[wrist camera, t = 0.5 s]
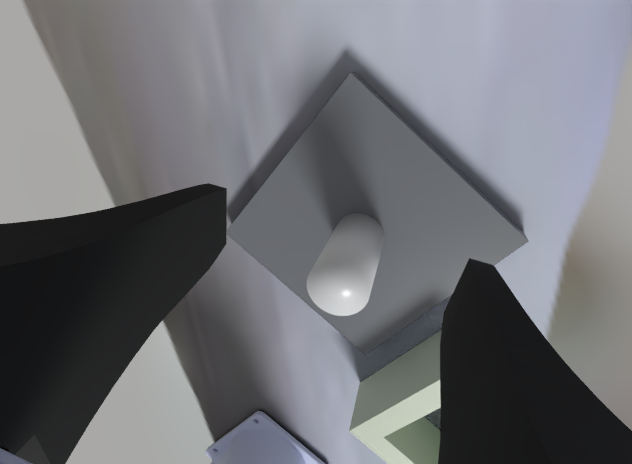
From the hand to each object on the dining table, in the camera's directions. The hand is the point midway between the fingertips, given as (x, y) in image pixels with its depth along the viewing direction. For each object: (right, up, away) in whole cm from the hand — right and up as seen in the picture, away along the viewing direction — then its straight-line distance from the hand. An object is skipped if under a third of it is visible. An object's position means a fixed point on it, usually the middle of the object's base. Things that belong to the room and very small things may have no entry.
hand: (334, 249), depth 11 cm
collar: (+8, -10, +14) cm, 19 cm away
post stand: (+2, +1, +11) cm, 11 cm away
